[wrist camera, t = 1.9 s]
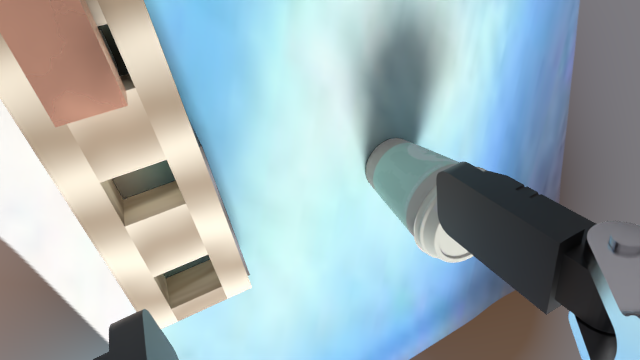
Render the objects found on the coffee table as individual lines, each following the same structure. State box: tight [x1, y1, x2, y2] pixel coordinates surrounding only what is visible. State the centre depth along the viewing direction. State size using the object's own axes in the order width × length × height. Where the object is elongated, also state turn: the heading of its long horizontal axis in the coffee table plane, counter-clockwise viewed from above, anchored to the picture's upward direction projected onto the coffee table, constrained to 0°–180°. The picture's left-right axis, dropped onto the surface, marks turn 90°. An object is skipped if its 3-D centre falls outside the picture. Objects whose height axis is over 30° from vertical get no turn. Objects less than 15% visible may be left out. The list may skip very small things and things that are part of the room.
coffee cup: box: [366, 138, 486, 263], centre depth 37 cm, size 8×8×12 cm
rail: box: [0, 0, 252, 329], centre depth 27 cm, size 36×9×4 cm, turn 10°
